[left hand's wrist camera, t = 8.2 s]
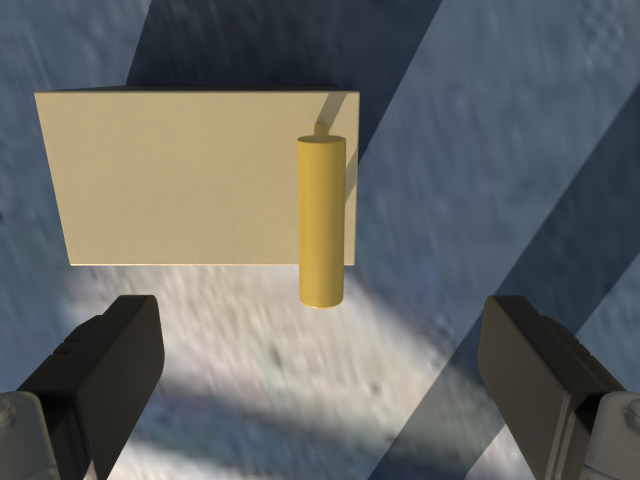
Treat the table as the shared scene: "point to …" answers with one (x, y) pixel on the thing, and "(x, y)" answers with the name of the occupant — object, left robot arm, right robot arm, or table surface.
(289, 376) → the table surface
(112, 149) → the lid
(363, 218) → the table surface
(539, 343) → the left robot arm
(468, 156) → the table surface
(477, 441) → the table surface
